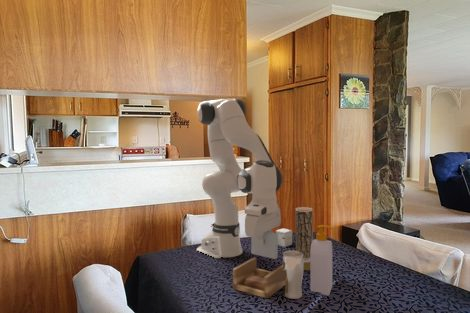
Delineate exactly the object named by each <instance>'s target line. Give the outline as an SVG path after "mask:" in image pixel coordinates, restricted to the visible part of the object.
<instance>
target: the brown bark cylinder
mask: <svg viewBox="0 0 470 313" xmlns="http://www.w3.org/2000/svg"><path fill="white" fill-rule="evenodd" d="M313 214H314V210H313V208H312V207H310V206H309V207H307V206H299V207H296V208H295V251H299V252H301V253H303V262H304V271H310V249H311V243H312V240H314V226H313V225H314V223H313V222H314V220H313V218H314V215H313Z"/></svg>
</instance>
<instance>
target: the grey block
mask: <svg viewBox="0 0 470 313" xmlns="http://www.w3.org/2000/svg"><path fill="white" fill-rule="evenodd" d="M250 238H251V240H250V241H251V243H250V244H251V245H250V246H251V251H250V253H251V255H252V254H253V255H255V256H261V257H264V258H269V259H273V260H276V259H277V258H278V256H279V255H278V253H279V252H278V251H279V249H278V248H279V247H278V246H279V245H278V233H276V231H275V232H274V231H271V232H269V231H267V232H265V233H264V236H263V238H264V239H265V244H263V245H260V244H259V239H258V237H255V238H253V237H250Z"/></svg>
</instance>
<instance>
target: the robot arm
mask: <svg viewBox="0 0 470 313" xmlns="http://www.w3.org/2000/svg"><path fill="white" fill-rule="evenodd" d="M196 110H197V111H196V112H197V117H198V121H199V122H200V123H201V125H206V126H207V143H208V150H209V156H210V159H211V161H212V162H214V163H215V164H216V165H217V167H218V168H219V170H218V171H217V170H216V171H213V172H210V173H208V174H206V175H204V176H203V179H202V184H201V185H202V189H203V191H204V193H205V194H206V195H208V197H210V199H211V202H212V204H213V208H214V223H212V224H210V228H211V227H212V229H211V230H210V231H209V232H208V233H207V234H205V235H204V237H202V239H201V243H200V245H199V246H198V247H197V248H196V252H197V251H199V252H198V253H200V252H202V253H204V254H203V255H205V254H207V255H206V256H208V255H209V256H208V257H210V256H212V257H211V258H213V257H214V259H221V257H223V258H234V257H238V256H240V255H242V254H243V252H244V251H243V248H242V245H241V240H240V230H241V229H240V222H239V206H238V205H237V203H235V202H234V200H233V199H232V195H231V194H232V193H238V192H241V193H243V194H252V197H251V201H250V203H248V204H247V206H245V208H244V214H246V215H245V218H244V233H245V235H246V236H247V237H249V238H251V237H253V238H255V237H258V239H259V244H260V245H263V244H265V239H264V238H263V236H264V233H265V232H267V231H269V232H272V230H273V229H276V228H278V227H279V226H281V223H282V218H281V216H282V214H281V208H280V207H279V204H278V202H277V199H278V198H277V194H276V192H278V191H279V189H281V187H282V185H283V182H284V178H283V174H282V171H280V169H279V167H278V166H277V164H275V162H274V160H273V159H272V156H271V155H270V153H269V151H268V149H267V147H266V144H265V143H264V142H263V140H262V138H261V136H260V135H259V134H257V133H256V131H254V130H253V129H252V127H250V125H249V124H248V122H247V119H246V113H247V112H246V105H245V102H244V101H243V100H242V99H238V98H220V99H214V100H213V99H212V100H204V101H202V102H200V103H199V104H198V106H197V109H196ZM235 146H236V147H239V148H241V149H245V150H246V151H247V150H248V151H250V152H251V153H252V154H253V156H254V157H255V160H256V161H254V162H253V164H252V165H251V166H249V167H246V168H244V169H243V168H241V167H240V165H239V163H238V160H236V157H235V152H234V147H235ZM202 253H201V254H202Z"/></svg>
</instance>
